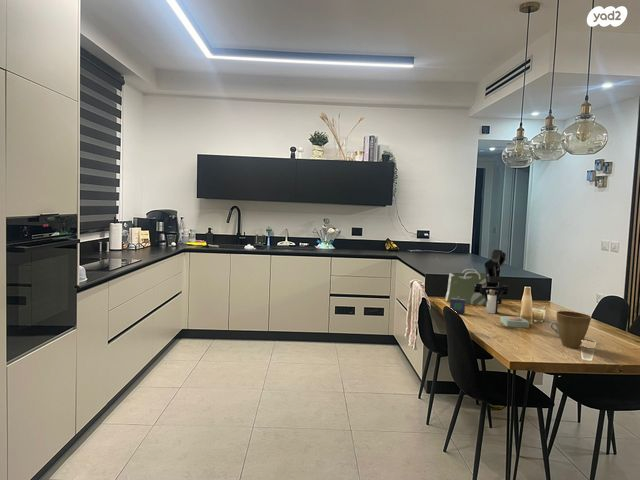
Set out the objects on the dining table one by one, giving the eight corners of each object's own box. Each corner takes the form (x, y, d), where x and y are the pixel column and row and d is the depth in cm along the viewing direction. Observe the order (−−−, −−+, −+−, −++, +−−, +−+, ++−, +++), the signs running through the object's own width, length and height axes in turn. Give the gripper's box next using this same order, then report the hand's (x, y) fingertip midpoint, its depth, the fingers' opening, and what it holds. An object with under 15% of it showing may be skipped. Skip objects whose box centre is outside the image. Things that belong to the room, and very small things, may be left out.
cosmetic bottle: (484, 311, 264) (486, 288, 262) (493, 311, 263) (495, 289, 262) (487, 313, 259) (489, 290, 257) (496, 313, 258) (498, 291, 257)
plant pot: (595, 350, 221) (598, 317, 219) (570, 351, 217) (573, 318, 215) (570, 340, 235) (573, 310, 234) (546, 341, 231) (549, 310, 229)
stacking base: (500, 320, 270) (500, 315, 269) (521, 322, 269) (521, 316, 269) (507, 326, 258) (507, 320, 257) (529, 327, 257) (529, 321, 257)
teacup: (577, 336, 243) (579, 321, 243) (579, 342, 234) (581, 326, 233) (548, 332, 249) (549, 318, 249) (549, 337, 239) (550, 322, 239)
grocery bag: (446, 302, 314) (449, 269, 313) (444, 298, 328) (447, 266, 326) (495, 306, 309) (498, 272, 307) (491, 302, 323) (494, 269, 321)
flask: (464, 313, 285) (465, 296, 284) (465, 314, 282) (466, 297, 281) (449, 312, 285) (450, 295, 284) (450, 313, 282) (451, 296, 282)
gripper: (475, 269, 265) (476, 292, 255) (510, 272, 260) (511, 295, 251) (473, 280, 273) (473, 302, 264) (507, 283, 269) (508, 306, 259)
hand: (491, 301), depth 259 cm, fingers closed on cosmetic bottle, 5 cm apart
